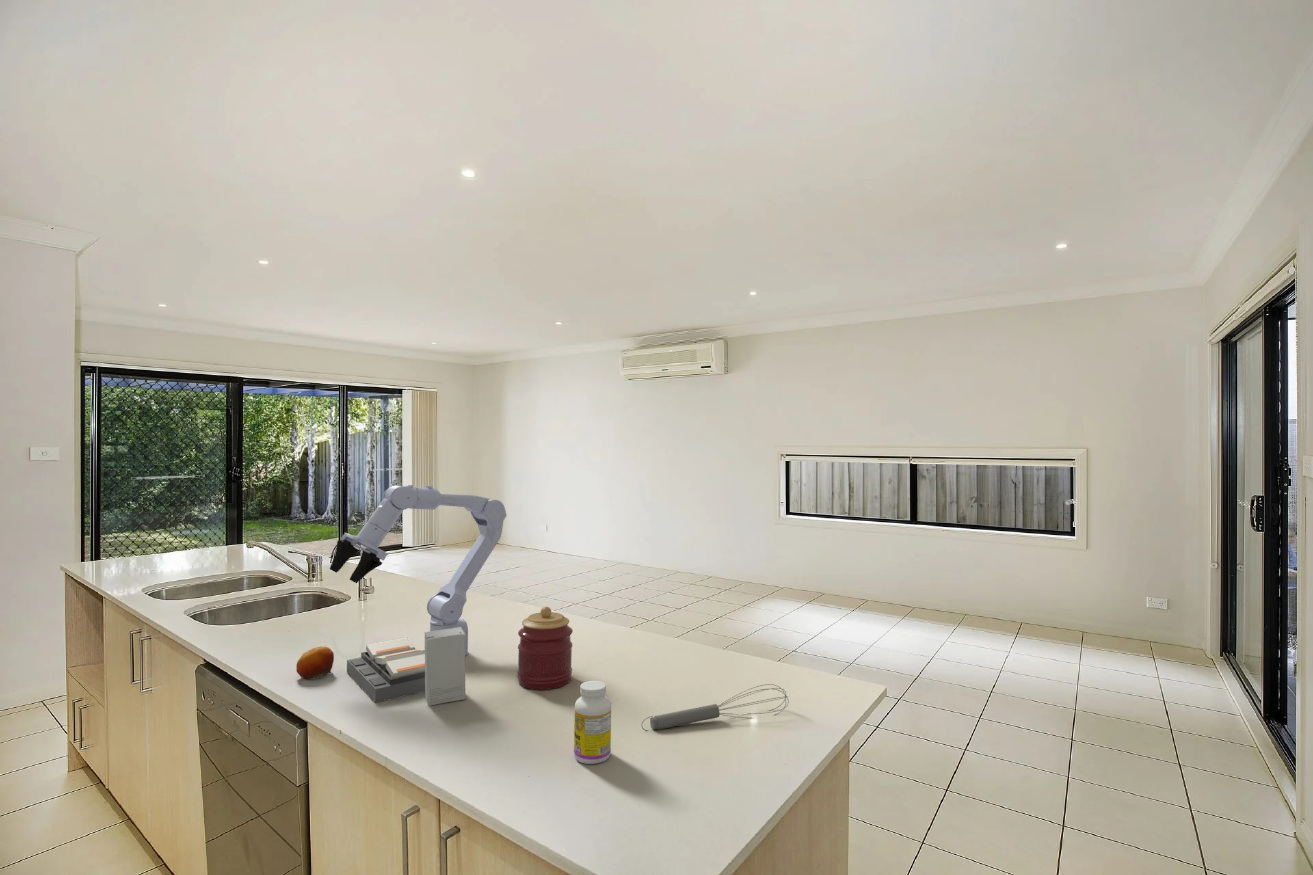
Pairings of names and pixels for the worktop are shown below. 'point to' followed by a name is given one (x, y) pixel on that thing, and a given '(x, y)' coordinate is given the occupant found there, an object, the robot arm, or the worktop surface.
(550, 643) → the canister
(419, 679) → the rocker switch panel
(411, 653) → the rocker middle
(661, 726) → the kitchen whisk
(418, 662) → the panel
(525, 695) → the worktop surface
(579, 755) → the supplement bottle
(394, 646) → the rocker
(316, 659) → the fruit
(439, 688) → the skincare box
